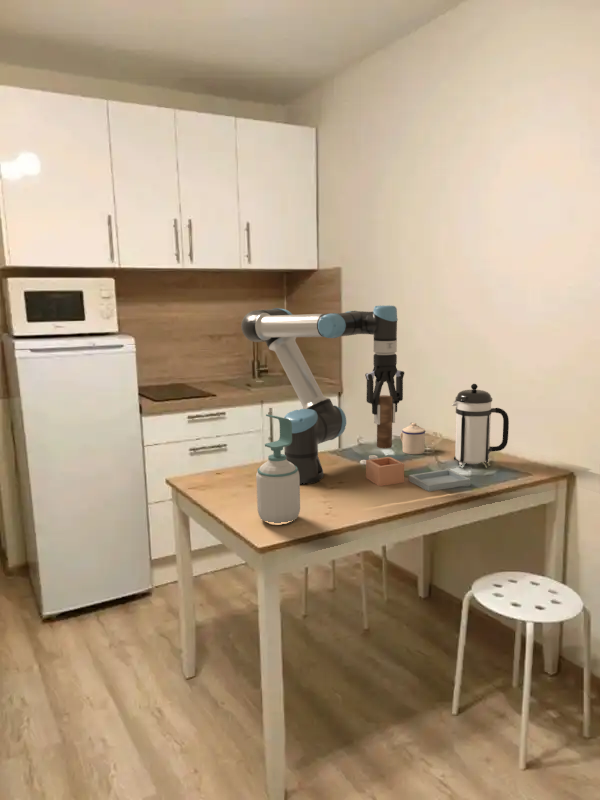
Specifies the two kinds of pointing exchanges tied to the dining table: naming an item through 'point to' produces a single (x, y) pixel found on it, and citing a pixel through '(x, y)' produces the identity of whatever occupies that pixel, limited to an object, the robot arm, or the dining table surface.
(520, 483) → the dining table surface
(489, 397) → the coffee press
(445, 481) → the slate tray
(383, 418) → the walnut dowel
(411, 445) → the teacup with lid
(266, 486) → the soap bottle
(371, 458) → the teacup and saucer
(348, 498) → the dining table surface
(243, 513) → the dining table surface
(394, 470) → the terracotta square box
